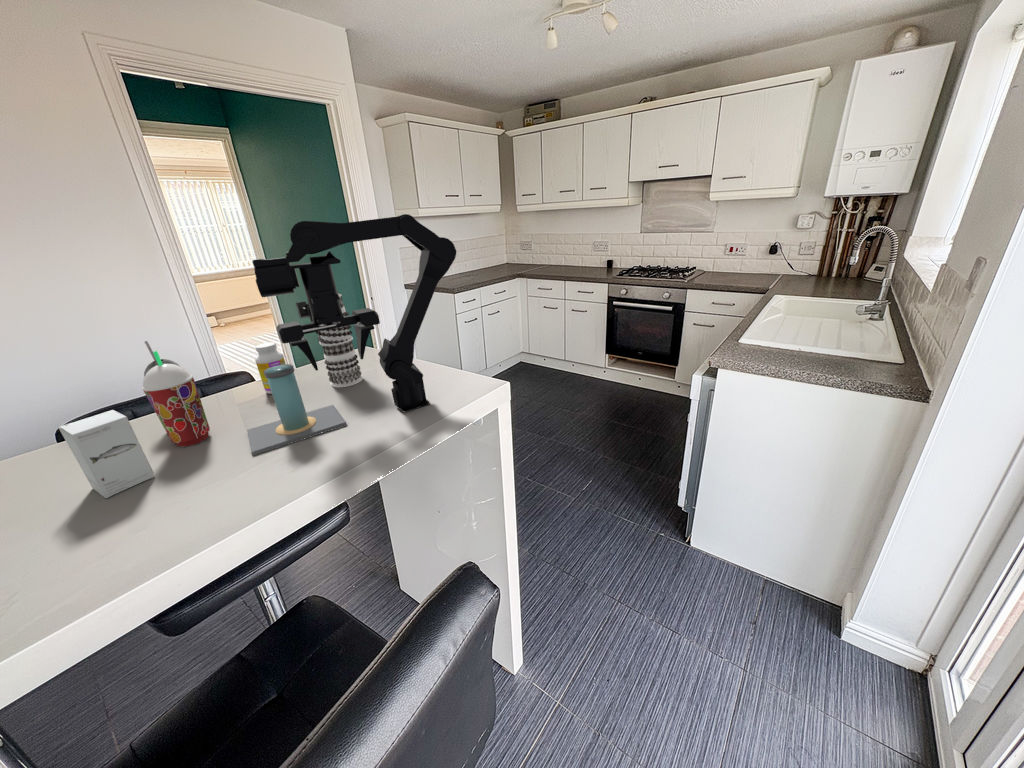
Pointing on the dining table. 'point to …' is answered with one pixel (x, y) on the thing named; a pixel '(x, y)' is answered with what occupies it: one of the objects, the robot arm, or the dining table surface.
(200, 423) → the smoothie
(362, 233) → the robot arm
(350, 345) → the decorative candle
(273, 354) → the supplement bottle
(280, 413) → the teal capped cylinder
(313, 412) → the mat
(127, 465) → the supplement box
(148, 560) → the dining table surface
